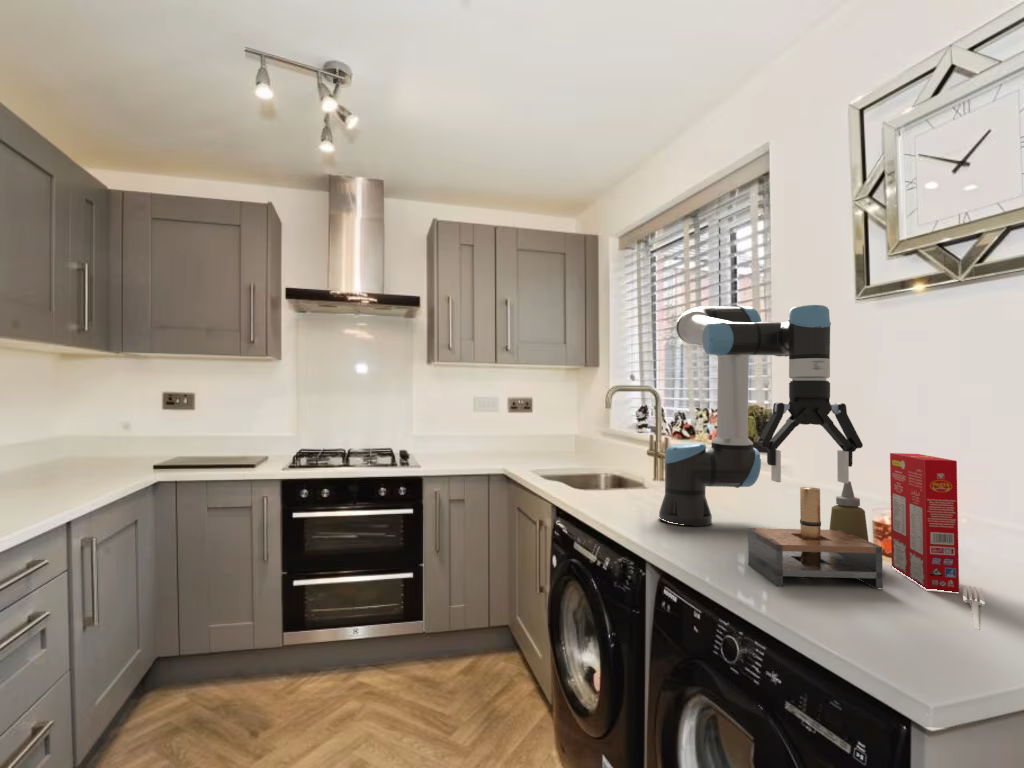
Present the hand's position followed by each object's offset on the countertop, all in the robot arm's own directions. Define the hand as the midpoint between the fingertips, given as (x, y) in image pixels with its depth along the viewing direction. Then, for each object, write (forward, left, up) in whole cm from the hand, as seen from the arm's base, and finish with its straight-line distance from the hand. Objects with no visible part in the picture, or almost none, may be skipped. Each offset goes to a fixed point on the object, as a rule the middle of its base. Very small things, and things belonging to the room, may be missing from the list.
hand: (809, 482), depth 112 cm
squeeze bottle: (-11, +14, -20) cm, 27 cm away
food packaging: (+1, +22, -20) cm, 29 cm away
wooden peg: (0, 0, -19) cm, 19 cm away
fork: (+17, +19, -20) cm, 33 cm away
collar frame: (0, 0, -19) cm, 19 cm away
